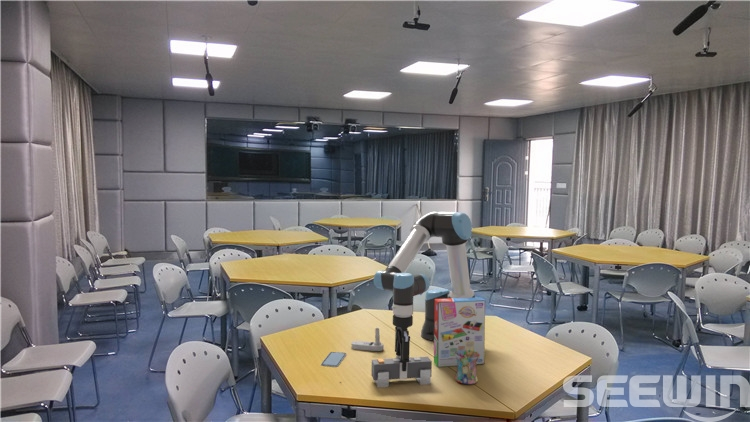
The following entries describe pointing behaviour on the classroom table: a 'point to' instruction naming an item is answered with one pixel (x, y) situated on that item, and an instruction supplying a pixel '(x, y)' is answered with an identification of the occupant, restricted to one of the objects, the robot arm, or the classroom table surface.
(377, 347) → the electronic device
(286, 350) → the classroom table surface
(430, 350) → the classroom table surface
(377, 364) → the power strip
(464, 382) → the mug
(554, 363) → the classroom table surface
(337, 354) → the smartphone
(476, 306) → the game box
